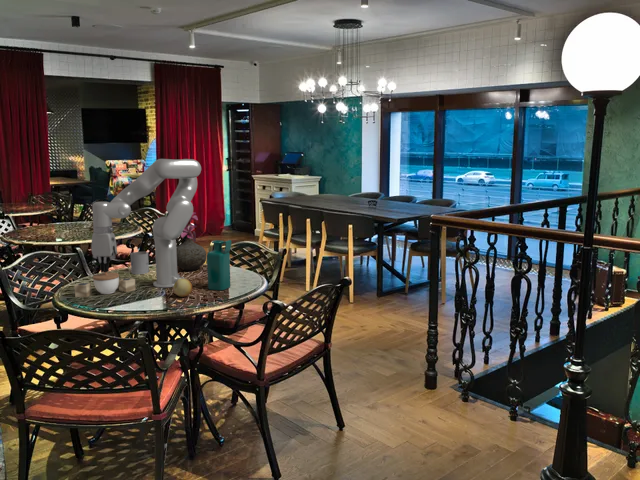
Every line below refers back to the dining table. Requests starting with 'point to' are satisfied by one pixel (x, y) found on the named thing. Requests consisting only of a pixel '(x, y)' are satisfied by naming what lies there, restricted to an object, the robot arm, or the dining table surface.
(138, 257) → the mug
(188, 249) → the vase
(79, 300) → the dining table surface
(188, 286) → the fruit
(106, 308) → the dining table surface
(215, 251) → the teal bottle
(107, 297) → the dining table surface
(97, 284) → the lidded jar
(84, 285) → the marked cube 1
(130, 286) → the marked cube 2
